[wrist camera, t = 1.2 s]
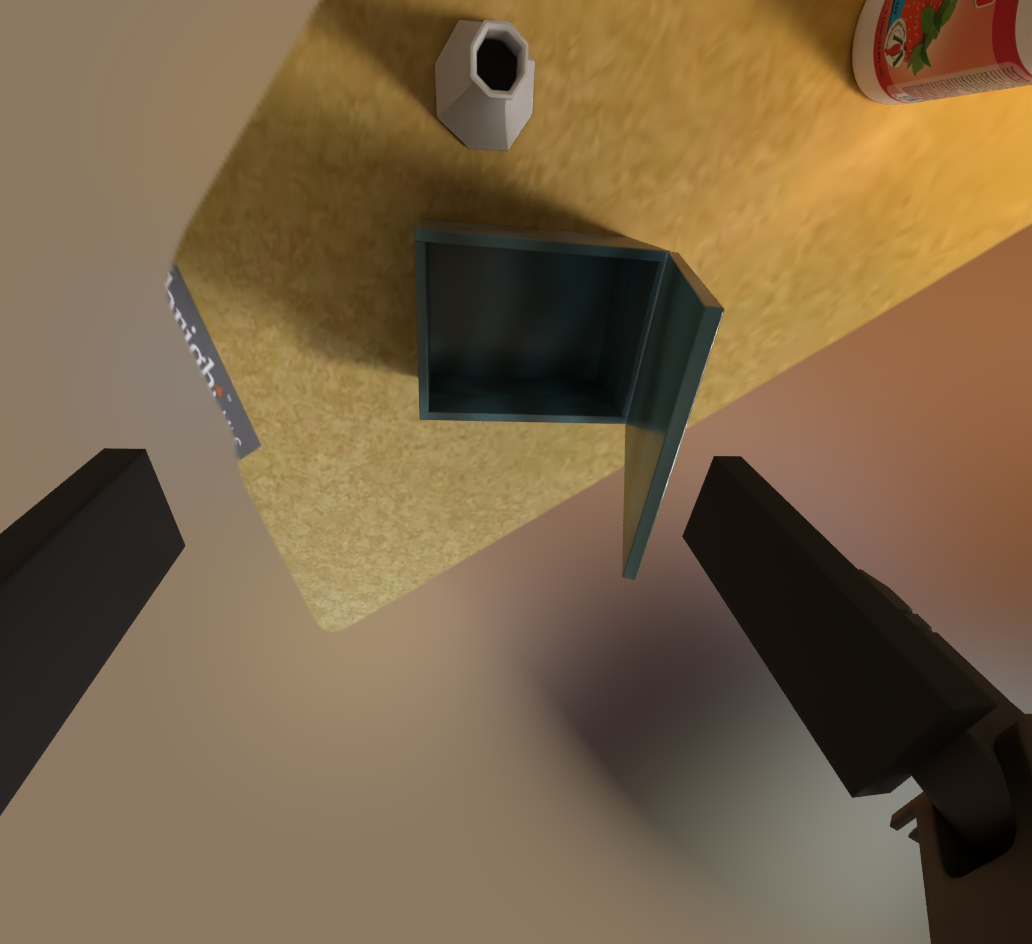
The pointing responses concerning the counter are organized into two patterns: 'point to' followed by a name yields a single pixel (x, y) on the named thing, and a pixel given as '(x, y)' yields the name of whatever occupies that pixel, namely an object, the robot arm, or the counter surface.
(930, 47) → the fruit juice
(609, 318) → the chest
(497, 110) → the flask
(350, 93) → the counter surface
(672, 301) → the lid
